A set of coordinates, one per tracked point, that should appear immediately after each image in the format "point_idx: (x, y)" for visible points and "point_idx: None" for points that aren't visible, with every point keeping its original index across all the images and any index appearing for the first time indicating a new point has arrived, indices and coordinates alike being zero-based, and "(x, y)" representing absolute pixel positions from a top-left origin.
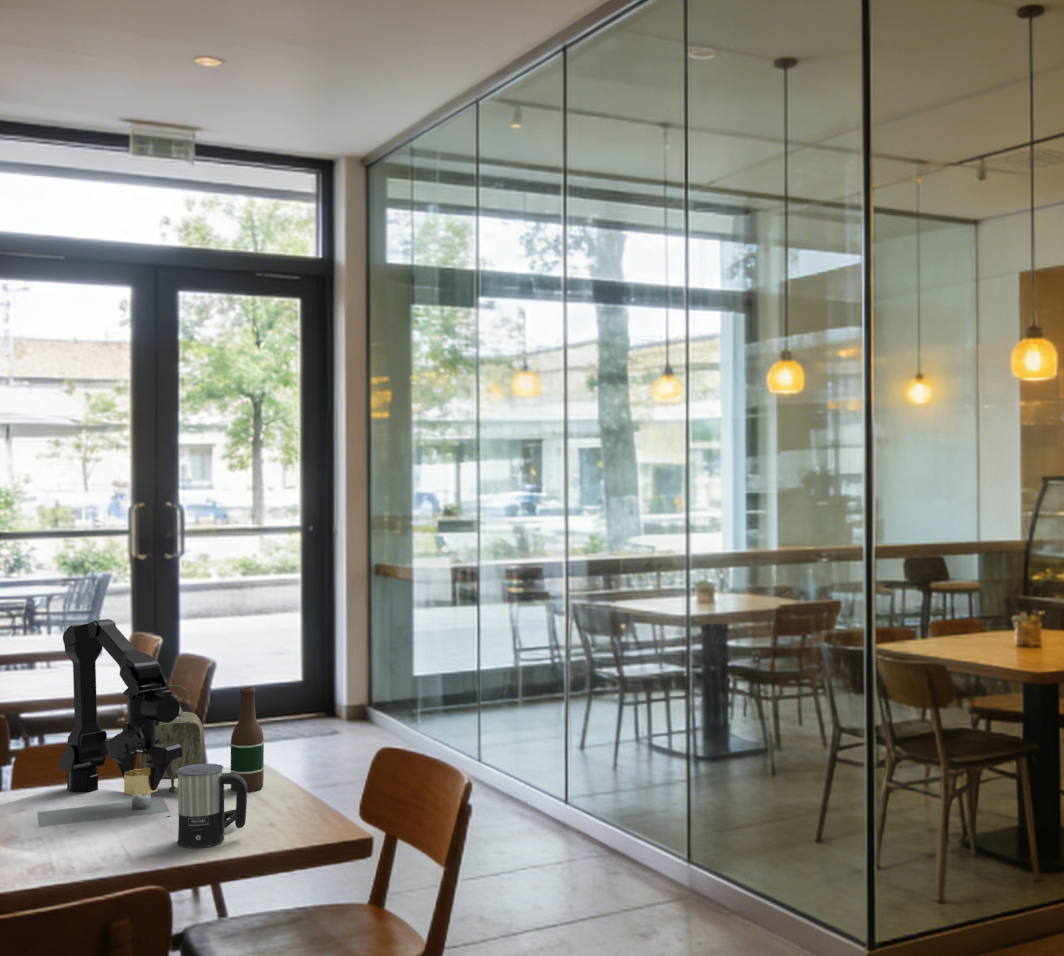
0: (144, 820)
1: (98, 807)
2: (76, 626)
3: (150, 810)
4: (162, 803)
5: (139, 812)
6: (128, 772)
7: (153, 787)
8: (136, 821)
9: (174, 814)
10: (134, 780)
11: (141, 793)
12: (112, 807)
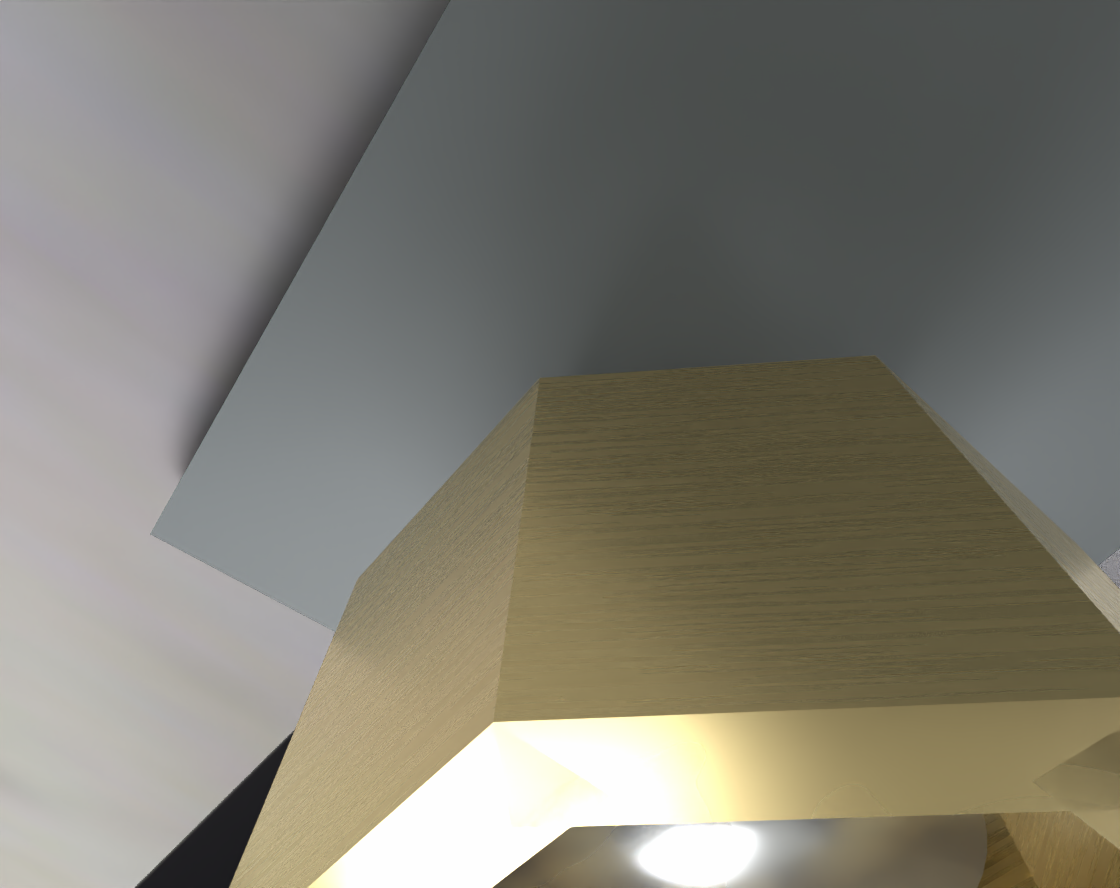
0: (320, 230)
1: None
2: None
3: (418, 451)
4: None
5: (472, 302)
6: None
7: (284, 741)
8: (374, 129)
9: (249, 591)
10: (500, 602)
11: (437, 498)
12: (1117, 291)
